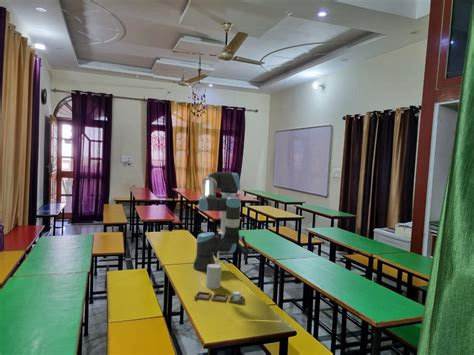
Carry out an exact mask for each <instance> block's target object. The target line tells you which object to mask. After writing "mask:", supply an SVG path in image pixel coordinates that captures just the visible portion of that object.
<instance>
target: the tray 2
mask: <svg viewBox="0 0 474 355" xmlns="http://www.w3.org/2000/svg"><path fill="white" fill-rule="evenodd" d="M228 297H229V296H228V294H226V293H225V294H224V293H216V292H215V293H213V295H212V297H211V298H210V299H211V301H212V302H220V303H221V302H222V303H226V301H227V299H228Z"/></svg>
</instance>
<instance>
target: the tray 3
mask: <svg viewBox="0 0 474 355" xmlns="http://www.w3.org/2000/svg"><path fill="white" fill-rule="evenodd" d="M244 300H245V296H242V295H241V301H233V294H232V295H230V297H229V299H228V303H230V304H239V305H244Z"/></svg>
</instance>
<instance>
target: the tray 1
mask: <svg viewBox="0 0 474 355" xmlns="http://www.w3.org/2000/svg"><path fill="white" fill-rule="evenodd" d="M199 291H200V290H199ZM199 291H197V292H196V294H195V296H194V298H193V299H194V300H195V301H198V300H202V301H203V300H204V301H209V299H211V296H212V292H205V291H200V292H199Z"/></svg>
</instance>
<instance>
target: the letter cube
mask: <svg viewBox="0 0 474 355" xmlns="http://www.w3.org/2000/svg"><path fill="white" fill-rule="evenodd" d="M241 294H242V291H232V295H233V301H241V296H242V295H241Z"/></svg>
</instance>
